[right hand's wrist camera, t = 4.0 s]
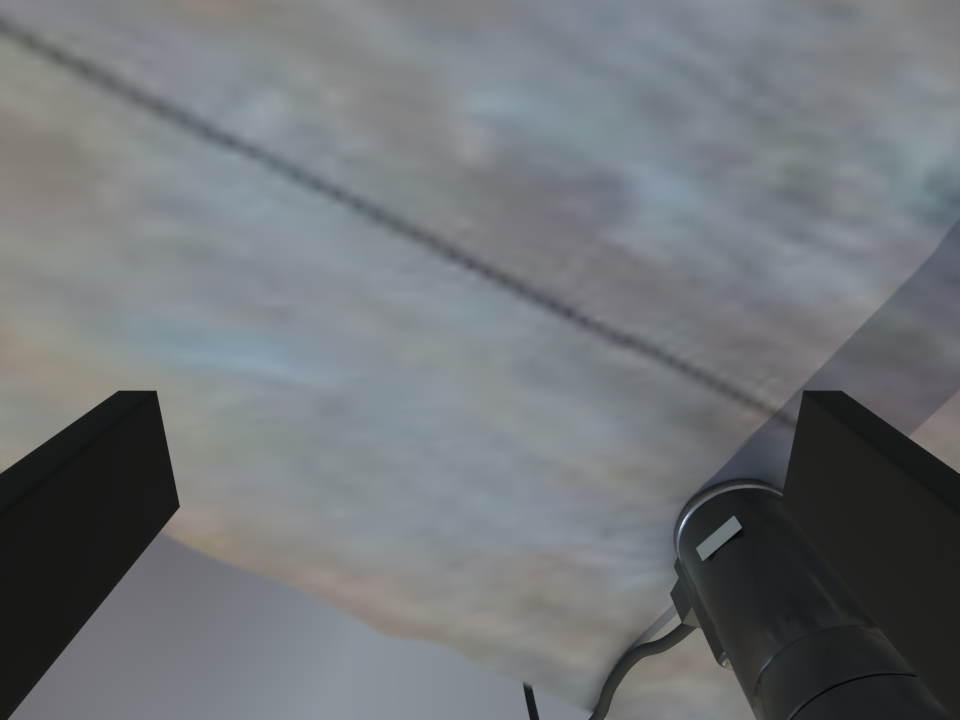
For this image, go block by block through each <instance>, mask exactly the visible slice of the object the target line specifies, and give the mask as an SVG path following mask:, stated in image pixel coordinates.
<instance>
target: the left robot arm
mask: <svg viewBox="0 0 960 720" xmlns="http://www.w3.org/2000/svg"><path fill="white" fill-rule="evenodd" d="M782 495H783V492H782V491H781V490H779V489H778V488H776V487H774V486H772V485H770V484H768V483H765V482H761V481H756V480H733V481H728V482H724V483H721V484H718V485H715V486H713V487H711V488H709V489H707V490H705V491H703V492H702V493H700V494H699V495H698V496H696V497H695V498H694V499H693V500H692V501H691V502H690V503H689V504H688V505H687V506H686V507H685V509H684V510H683V511H682V513H681V515H680V516H679V518H678V521H677V523H676V526H675V530H674V546H675V550H676V553H677V556H678V559H677V561H676V563H675V565H674V568H675V570H676V572H677V575H678V577H679V579H678V581H677V582H676V584H675V586H674V588H673V589H672V591H671V593H670V595H671V597H672V600H673V602H674V605H675V607H676V609H677V612H678V614H679V617H680V619H681V621H682V623H681V624H680V625H679V626H678V627H676V628H675V629H674V630H673V631H671V632H670V633H669V634H667V635H666V636H664V637H663V638H661V639H659V640H656V641H653V642H649V643H645V644H642V645H640V646H638V647H636V648H635V649H633V650H632V651H631V652H629V653H628V654H627V655H626V656H625V657H624V658H623V659H622V660H621V661H620V662H619V664H618V665H617V666H616V668H615V669H614V671H613V672H612V674H611V675H610V677H609V678H608V680H607V681H606V683H605V685H604V687H603V690H602V693H601V696H600V700H599V703H598V706H597V708H596V710H595V712H594V713H593V715H592V716H591V717H590V719H589V720H604V718H605V717H606V715H607V712H608V710H609V707H610V703H611V699H612V696H613V694H614V692H615V690H616V688H617V687H618V685H619V684H620V682H621V680H622V679H623V678H624V676H625V675H626V673H627V672H628V671H629V670H630V669H631V667H632V666H633V665H634V664H636V663H637V662H638V661H639V660H640V659H642V658H644V657H646V656H649V655H654V654H658V653H661V652H664V651H666V650H668V649H669V648H671V647H673V646H674V645H676V644H677V643H679V642H680V641H681V640H683V639H684V638H685V637H686V636H688V635H689V634H690V633H691V632H692V631H693V630H695V629H696V628H701V629H702V630H703V632H704V635H705V637H706V639H707V641H708V644H709V646H710V648H711V650H712V652H713V655H714V657H715V659H716V661H717V663H718V664H719V665H720V666H722V667H724V668H727V669H730V670H733V671H734V673H735V675H736V677H737V679H738V681H739V683H740V686H741V688H742V690H743V692H744V694H745V696H746V698H747V700H748V702H749V704H750V707H751V709H752V711H753V713H754V715H755V717H756V719H757V720H953V719H952V718H951V717H950V716H949V715H948V713H947V712H946V711H945V710H944V708H943V707H942V706H941V705H940V703H939V702H938V701H937V700H936V698H935V697H934V696H933V695H932V694H931V692H930V691H929V690H928V689H927V687H926V686H925V685H924V684H923V682H922V681H921V680H920V679H919V678H918V676H917V675H916V674H915V673H914V671H913V670H912V669H911V668H910V666H909V665H908V664H907V663H906V661H905V660H904V659H903V658H902V657H901V655H900V654H899V653H898V652H897V650H896V649H895V648H894V647H893V645H892V644H891V643H890V642H889V640H888V639H887V638H886V637H885V636H884V634H883V633H882V632H881V631H880V629H879V628H878V627H877V626H876V624H875V623H874V622H873V621H872V619H871V618H870V617H869V616H868V615H867V613H866V612H865V611H864V610H863V608H862V607H861V606H860V605H859V603H858V602H857V601H856V600H855V599H854V597H853V596H852V595H851V594H850V592H849V591H848V590H847V589H846V587H845V586H844V585H843V584H842V582H841V581H840V580H839V579H838V578H837V576H836V575H835V574H834V573H833V571H832V570H831V569H830V568H829V566H828V565H827V564H826V563H825V561H824V560H823V559H822V558H821V557H820V555H819V554H818V553H817V552H816V550H815V549H814V548H813V547H812V545H811V544H810V543H809V542H808V540H807V539H806V538H805V537H804V536H803V534H802V533H801V532H800V531H799V529H798V528H797V527H796V526H795V524H794V523H793V522H792V521H791V519H790V518H789V517H788V516H787V515H786V513H785V512H784V511H783V510H782V508H781V507H780V505H781V500H782ZM523 688H524V694H525V699H526V704H527V708H528V713H529V718H530V720H539V715H538V711H537V707H536V703H535V698H534V693H533V688H532V686H530V685H527V684H525V683H523Z"/></svg>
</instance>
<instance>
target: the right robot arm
mask: <svg viewBox="0 0 960 720" xmlns="http://www.w3.org/2000/svg"><path fill="white" fill-rule="evenodd" d="M179 507H180V505H179V500H178V495H177V490H176V485H175V480H174V476H173V471H172V466H171V461H170V456H169V451H168V446H167V441H166V436H165V431H164V426H163V421H162V416H161V411H160V406H159V401H158V396H157V391H117V392H116V393H115V394H113V395H112V396H110V397H109V398H108V399H106V400H105V401H103V402H102V403H100V404H99V405H98V406H96V407H95V408H93V409H92V410H91V411H89V412H88V413H86V414H85V415H83V416H82V417H81V418H79V419H78V420H76V421H75V422H73V423H72V424H71V425H69V426H68V427H66V428H65V429H64V430H62V431H61V432H59V433H58V434H56V435H55V436H54V437H52V438H51V439H49V440H48V441H47V442H45V443H44V444H42V445H41V446H39V447H38V448H37V449H35V450H34V451H32V452H31V453H29V454H28V455H27V456H25V457H24V458H22V459H21V460H20V461H18V462H17V463H15V464H14V465H12V466H11V467H10V468H8V469H7V470H5V471H4V472H2V473H1V474H0V720H7V719H8V718H9V717H10V716H11V715H12V713H13V712H14V711H15V710H16V708H17V707H18V706H19V705H20V703H21V702H22V701H23V700H24V698H25V697H26V696H27V695H28V694H29V692H30V691H31V690H32V689H33V687H34V686H35V685H36V684H37V682H38V681H39V680H40V679H41V678H42V676H43V675H44V674H45V672H46V671H47V670H48V669H49V668H50V666H51V665H52V664H53V663H54V661H55V660H56V659H57V658H58V657H59V655H60V654H61V653H62V652H63V650H64V649H65V648H66V647H67V645H68V644H69V643H70V642H71V640H72V639H73V638H74V637H75V635H76V634H77V633H78V632H79V631H80V629H81V628H82V627H83V626H84V624H85V623H86V622H87V621H88V619H89V618H90V617H91V616H92V615H93V613H94V612H95V611H96V610H97V608H98V607H99V606H100V605H101V603H102V602H103V601H104V600H105V598H106V597H107V596H108V595H109V594H110V592H111V591H112V590H113V589H114V587H115V586H116V585H117V584H118V582H119V581H120V580H121V579H122V577H123V576H124V575H125V574H126V573H127V571H128V570H129V569H130V568H131V566H132V565H133V564H134V563H135V561H136V560H137V559H138V558H139V556H140V555H141V554H142V553H143V552H144V550H145V549H146V548H147V547H148V545H149V544H150V543H151V542H152V540H153V539H154V538H155V537H156V536H157V534H158V533H159V532H160V531H161V529H162V528H163V527H164V526H165V524H166V523H167V522H168V521H169V519H170V518H171V517H172V516H173V515H174V513H175V512H176V511H177V510H178V508H179ZM780 507H781V508H782V510H783V511H784V512H785V513H786V515H787V516H788V517H789V518H790V519H791V521H792V522H793V523H794V524H795V526H796V527H797V528H798V529H799V531H800V532H801V533H802V534H803V536H804V537H805V538H806V539H807V540H808V542H809V543H810V544H811V545H812V547H813V548H814V549H815V550H816V552H817V553H818V554H819V555H820V557H821V558H822V559H823V560H824V561H825V563H826V564H827V565H828V566H829V568H830V569H831V570H832V571H833V573H834V574H835V575H836V576H837V578H838V579H839V580H840V581H841V582H842V584H843V585H844V586H845V587H846V589H847V590H848V591H849V592H850V594H851V595H852V596H853V597H854V599H855V600H856V601H857V602H858V603H859V605H860V606H861V607H862V608H863V610H864V611H865V612H866V613H867V615H868V616H869V617H870V618H871V619H872V621H873V622H874V623H875V624H876V626H877V627H878V628H879V629H880V631H881V632H882V633H883V634H884V636H885V637H886V638H887V639H888V640H889V642H890V643H891V644H892V645H893V647H894V648H895V649H896V650H897V652H898V653H899V654H900V655H901V657H902V658H903V659H904V660H905V661H906V663H907V664H908V665H909V666H910V668H911V669H912V670H913V671H914V673H915V674H916V675H917V676H918V678H919V679H920V680H921V681H922V682H923V684H924V685H925V686H926V687H927V689H928V690H929V691H930V692H931V694H932V695H933V696H934V697H935V698H936V700H937V701H938V702H939V703H940V705H941V706H942V707H943V708H944V710H945V711H946V712H947V713H948V715H949V716H950V717H951V718H952V719H953V720H960V474H959V473H958V472H956V471H955V470H953V469H952V468H950V467H949V466H948V465H946V464H945V463H943V462H942V461H940V460H939V459H938V458H936V457H935V456H933V455H932V454H931V453H929V452H928V451H926V450H925V449H923V448H922V447H921V446H919V445H918V444H916V443H915V442H913V441H912V440H911V439H909V438H908V437H906V436H905V435H904V434H902V433H901V432H899V431H898V430H896V429H895V428H894V427H892V426H891V425H889V424H888V423H887V422H885V421H884V420H882V419H881V418H879V417H878V416H877V415H875V414H874V413H872V412H871V411H869V410H868V409H867V408H865V407H864V406H862V405H861V404H860V403H858V402H857V401H855V400H854V399H852V398H851V397H850V396H848V395H847V394H845V393H844V392H843V391H803V396H802V401H801V406H800V411H799V416H798V421H797V426H796V431H795V436H794V441H793V446H792V451H791V456H790V461H789V466H788V471H787V476H786V480H785V485H784V490H783V495H782V500H781V505H780Z"/></svg>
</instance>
